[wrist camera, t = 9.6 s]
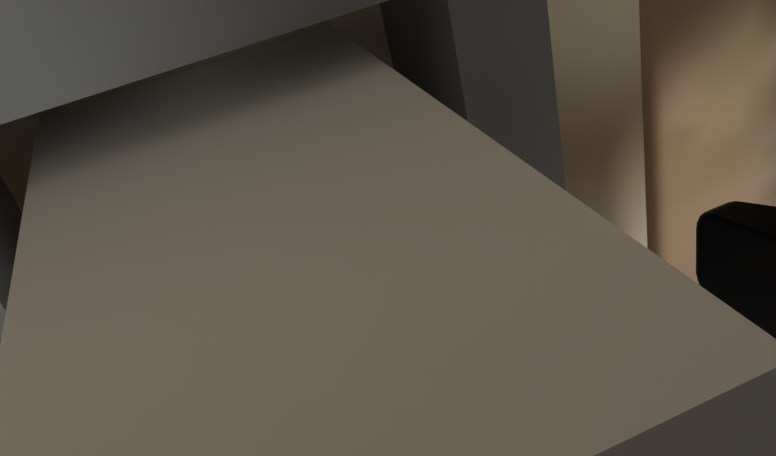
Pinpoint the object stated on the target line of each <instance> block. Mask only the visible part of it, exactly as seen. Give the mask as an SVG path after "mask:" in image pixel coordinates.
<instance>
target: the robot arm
mask: <svg viewBox="0 0 776 456" xmlns="http://www.w3.org/2000/svg"><path fill="white" fill-rule="evenodd" d="M696 275H697V279H698V282H699V284H700V286H701V287H703V288H704V289H706V290H707V291H709V292H710V293H711V294H713V295H714V296H716V297H717V298H718V299H720V300H721V301H723V302H724V303H726V304H727V305H728V306H730V307H731V308H733V309H734V310H735V311H737V312H738V313H740V314H741V315H743V316H744V317H745V318H747V319H748V320H750V321H751V322H753V323H754V324H755V325H757V326H758V327H760V328H761V329H762V330H764V331H765V332H767V333H768V334H770V335H771V336H772V337H774V338H775V339H776V207H775V206H768V205H760V204H753V203H746V202H738V201H734V202H728V203H726V204H723V205H721V206H718V207H716V208H714V209H711V210H709V211H707V212H705V213H703V214H702V215H701V216H700V217H699V220H698V222H697V227H696Z"/></svg>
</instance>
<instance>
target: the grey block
mask: <svg viewBox="0 0 776 456" xmlns="http://www.w3.org/2000/svg"><path fill="white" fill-rule="evenodd" d="M0 456H776V339H775V338H774V337H772V336H771V335H770V334H768V333H767V332H765V331H764V330H762V329H761V328H760V327H758V326H757V325H755V324H754V323H753V322H751V321H750V320H748V319H747V318H745V317H744V316H743V315H741V314H740V313H738V312H737V311H735V310H734V309H733V308H731V307H730V306H728V305H727V304H726V303H724V302H723V301H721V300H720V299H718V298H717V297H716V296H714V295H713V294H711V293H710V292H709V291H707V290H706V289H704V288H703V287H701V286H700V285H699V284H697V283H696V282H694V281H693V280H692V279H690V278H689V277H687V276H686V275H684V274H683V273H682V272H680V271H679V270H677V269H676V268H675V267H673V266H672V265H670V264H669V263H667V262H666V261H665V260H663V259H662V258H660V257H659V256H658V255H656V254H655V253H653V252H652V251H650V250H649V249H648V248H646V247H645V246H643V245H642V244H641V243H639V242H638V241H636V240H635V239H633V238H632V237H631V236H629V235H628V234H626V233H625V232H623V231H622V230H621V229H619V228H618V227H616V226H615V225H614V224H612V223H611V222H609V221H608V220H606V219H605V218H604V217H602V216H601V215H599V214H598V213H597V212H595V211H594V210H592V209H591V208H589V207H588V206H587V205H585V204H584V203H582V202H581V201H580V200H578V199H577V198H575V197H574V196H572V195H571V194H570V193H568V192H567V191H565V190H564V189H563V188H561V187H560V186H558V185H557V184H555V183H554V182H553V181H551V180H550V179H548V178H547V177H546V176H544V175H543V174H541V173H540V172H538V171H537V170H536V169H534V168H533V167H531V166H530V165H528V164H527V163H526V162H524V161H523V160H521V159H520V158H519V157H517V156H516V155H514V154H513V153H511V152H510V151H509V150H507V149H506V148H504V147H503V146H502V145H500V144H499V143H497V142H496V141H494V140H493V139H492V138H490V137H489V136H487V135H486V134H485V133H483V132H482V131H480V130H479V129H477V128H476V127H475V126H473V125H472V124H470V123H469V122H468V121H466V120H465V119H463V118H462V117H460V116H459V115H458V114H456V113H455V112H453V111H452V110H451V109H449V108H448V107H446V106H445V105H443V104H442V103H441V102H439V101H438V100H436V99H435V98H433V97H432V96H431V95H429V94H428V93H426V92H425V91H424V90H422V89H421V88H419V87H418V86H416V85H415V84H414V83H412V82H411V81H409V80H408V79H407V78H405V77H404V76H402V75H401V74H399V73H398V72H397V71H395V70H394V69H392V68H391V67H390V66H388V65H387V64H385V63H384V62H382V61H381V60H380V59H378V58H377V57H375V56H374V55H373V54H371V53H370V52H368V51H367V50H365V49H364V48H363V47H361V46H360V45H358V44H357V43H356V42H354V41H353V40H351V39H350V38H348V37H347V36H346V35H344V34H343V33H341V32H340V31H338V30H337V29H336V28H334V27H333V26H331V25H330V24H328V25H325V26H322V27H319V28H316V29H313V30H310V31H307V32H304V33H300V34H297V35H294V36H291V37H288V38H285V39H282V40H279V41H276V42H273V43H269V44H266V45H263V46H260V47H257V48H254V49H251V50H248V51H245V52H242V53H239V54H235V55H232V56H229V57H226V58H223V59H220V60H217V61H214V62H211V63H208V64H204V65H201V66H198V67H195V68H192V69H189V70H186V71H183V72H180V73H177V74H173V75H170V76H167V77H164V78H161V79H158V80H155V81H152V82H149V83H146V84H142V85H139V86H136V87H133V88H130V89H127V90H124V91H121V92H118V93H115V94H111V95H108V96H105V97H102V98H99V99H96V100H93V101H90V102H87V103H84V104H81V105H77V106H74V107H71V108H68V109H65V110H62V111H59V112H56V113H53V114H50V115H46V116H43V117H40V118H38V124H37V130H36V136H35V142H34V148H33V154H32V160H31V166H30V171H29V177H28V183H27V189H26V195H25V201H24V207H23V213H22V219H21V225H20V231H19V237H18V242H17V248H16V254H15V260H14V266H13V272H12V278H11V284H10V290H9V296H8V302H7V307H6V313H5V319H4V325H3V331H2V337H1V343H0Z"/></svg>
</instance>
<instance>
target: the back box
mask: <svg viewBox="0 0 776 456" xmlns="http://www.w3.org/2000/svg"><path fill="white" fill-rule="evenodd" d="M376 4H379V5H380V9H381V14H382V18H383V23H384V28H385V32H386V37H387V41H388V46H389V50H390V55H391V60H392V64H393V69H394V70H395V71H397V72H398V73H399V74H401V75H402V76H404V77H405V78H407V79H408V80H409V81H411V82H412V83H414V84H415V85H416V86H418V87H419V88H421V89H422V90H424V91H425V92H426V93H428V94H429V95H431V96H432V97H433V98H435V99H436V100H438V101H439V102H441V103H442V104H443V105H445V106H446V107H448V108H449V109H451V110H452V111H453V112H455V113H456V114H458V115H459V116H460V117H462V118H463V119H465V120H466V121H468V122H469V123H470V124H472V125H473V126H475V127H476V128H477V129H479V130H480V131H482V132H483V133H485V134H486V135H487V136H489V137H490V138H492V139H493V140H494V141H496V142H497V143H499V144H500V145H502V146H503V147H504V148H506V149H507V150H509V151H510V152H511V153H513V154H514V155H516V156H517V157H519V158H520V159H521V160H523V161H524V162H526V163H527V164H528V165H530V166H531V167H533V168H534V169H536V170H537V171H538V172H540V173H541V174H543V175H544V176H546V177H547V178H548V179H550V180H551V181H553V182H554V183H555V184H557V185H558V186H560V187H561V188H563V189H564V190H565V191H566V186H565V176H564V166H563V156H562V146H561V136H560V126H559V116H558V106H557V96H556V86H555V76H554V66H553V56H552V46H551V36H550V26H549V16H548V6H547V0H0V125H1V124H4V123H7V122H10V121H13V120H17V119H20V118H23V117H26V116H29V115H32V114H35V113H38V112H42V111H45V110H48V109H51V108H54V107H57V106H60V105H63V104H67V103H70V102H73V101H76V100H79V99H82V98H85V97H88V96H91V95H95V94H98V93H101V92H104V91H107V90H110V89H113V88H116V87H120V86H123V85H126V84H129V83H132V82H135V81H138V80H141V79H145V78H148V77H151V76H154V75H157V74H160V73H163V72H166V71H170V70H173V69H176V68H179V67H182V66H185V65H188V64H191V63H195V62H198V61H201V60H204V59H207V58H210V57H213V56H216V55H220V54H223V53H226V52H229V51H232V50H235V49H238V48H241V47H245V46H248V45H251V44H254V43H257V42H260V41H263V40H266V39H270V38H273V37H276V36H279V35H282V34H285V33H288V32H291V31H294V30H298V29H301V28H304V27H307V26H310V25H313V24H316V23H319V22H323V21H326V20H329V19H332V18H335V17H338V16H341V15H344V14H348V13H351V12H354V11H357V10H360V9H363V8H366V7H369V6H373V5H376ZM21 219H22V212H21V210H20V208H19V207H18V205H17V203H16V201H15V199H14V198H13V196H12V194H11V192H10V190H9V189H8V187H7V185H6V183H5V181H4V180H3V178H2V176H1V174H0V343H1V337H2V331H3V325H4V319H5V313H6V307H7V302H8V296H9V290H10V284H11V278H12V272H13V266H14V260H15V254H16V248H17V242H18V237H19V231H20V225H21Z"/></svg>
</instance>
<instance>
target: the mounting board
mask: <svg viewBox="0 0 776 456" xmlns="http://www.w3.org/2000/svg"><path fill="white" fill-rule="evenodd" d="M547 6H548V16H549V26H550V36H551V46H552V56H553V66H554V76H555V86H556V96H557V106H558V116H559V126H560V136H561V146H562V156H563V166H564V176H565V186H566V191H567V192H568V193H570V194H571V195H572V196H574V197H575V198H577V199H578V200H580V201H581V202H582V203H584V204H585V205H587V206H588V207H589V208H591V209H592V210H594V211H595V212H597V213H598V214H599V215H601V216H602V217H604V218H605V219H606V220H608V221H609V222H611V223H612V224H614V225H615V226H616V227H618V228H619V229H621V230H622V231H623V232H625V233H626V234H628V235H629V236H631V237H632V238H633V239H635V240H636V241H638V242H639V243H641V244H642V245H643V246H645V247H646V248H647V219H646V190H645V162H644V133H643V104H642V75H641V47H640V18H639V0H547ZM328 24H330V25H331V26H333V27H334V28H336V29H337V30H338V31H340V32H341V33H343V34H344V35H346V36H347V37H348V38H350V39H351V40H353V41H354V42H356V43H357V44H358V45H360V46H361V47H363V48H364V49H365V50H367V51H368V52H370V53H371V54H373V55H374V56H375V57H377V58H378V59H380V60H381V61H382V62H384V63H385V64H387V65H388V66H390V67H391V68H392V69H393V64H392V60H391V55H390V50H389V46H388V41H387V37H386V32H385V28H384V23H383V18H382V14H381V9H380V5H379V4H376V5H373V6H369V7H366V8H363V9H360V10H357V11H354V12H351V13H348V14H344V15H341V16H338V17H335V18H332V19H329V20H326V21H323V22H319V23H316V24H313V25H310V26H307V27H304V28H301V29H298V30H294V31H291V32H288V33H285V34H282V35H279V36H276V37H273V38H270V39H266V40H263V41H260V42H257V43H254V44H251V45H248V46H245V47H241V48H238V49H235V50H232V51H229V52H226V53H223V54H220V55H216V56H213V57H210V58H207V59H204V60H201V61H198V62H195V63H191V64H188V65H185V66H182V67H179V68H176V69H173V70H170V71H166V72H163V73H160V74H157V75H154V76H151V77H148V78H145V79H141V80H138V81H135V82H132V83H129V84H126V85H123V86H120V87H116V88H113V89H110V90H107V91H104V92H101V93H98V94H95V95H91V96H88V97H85V98H82V99H79V100H76V101H73V102H70V103H67V104H63V105H60V106H57V107H54V108H51V109H48V110H45V111H42V112H38V113H35V114H32V115H29V116H26V117H23V118H20V119H17V120H13V121H10V122H7V123H4V124H1V125H0V174H1V176H2V178H3V180H4V181H5V183H6V185H7V187H8V189H9V190H10V192H11V194H12V196H13V198H14V199H15V201H16V203H17V205H18V207H19V208H20V210H21V212H22V213H23V207H24V201H25V195H26V189H27V183H28V177H29V171H30V166H31V160H32V154H33V148H34V142H35V136H36V130H37V124H38V118H40V117H43V116H46V115H50V114H53V113H56V112H59V111H62V110H65V109H68V108H71V107H74V106H77V105H81V104H84V103H87V102H90V101H93V100H96V99H99V98H102V97H105V96H108V95H111V94H115V93H118V92H121V91H124V90H127V89H130V88H133V87H136V86H139V85H142V84H146V83H149V82H152V81H155V80H158V79H161V78H164V77H167V76H170V75H173V74H177V73H180V72H183V71H186V70H189V69H192V68H195V67H198V66H201V65H204V64H208V63H211V62H214V61H217V60H220V59H223V58H226V57H229V56H232V55H235V54H239V53H242V52H245V51H248V50H251V49H254V48H257V47H260V46H263V45H266V44H269V43H273V42H276V41H279V40H282V39H285V38H288V37H291V36H294V35H297V34H300V33H304V32H307V31H310V30H313V29H316V28H319V27H322V26H325V25H328Z"/></svg>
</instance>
